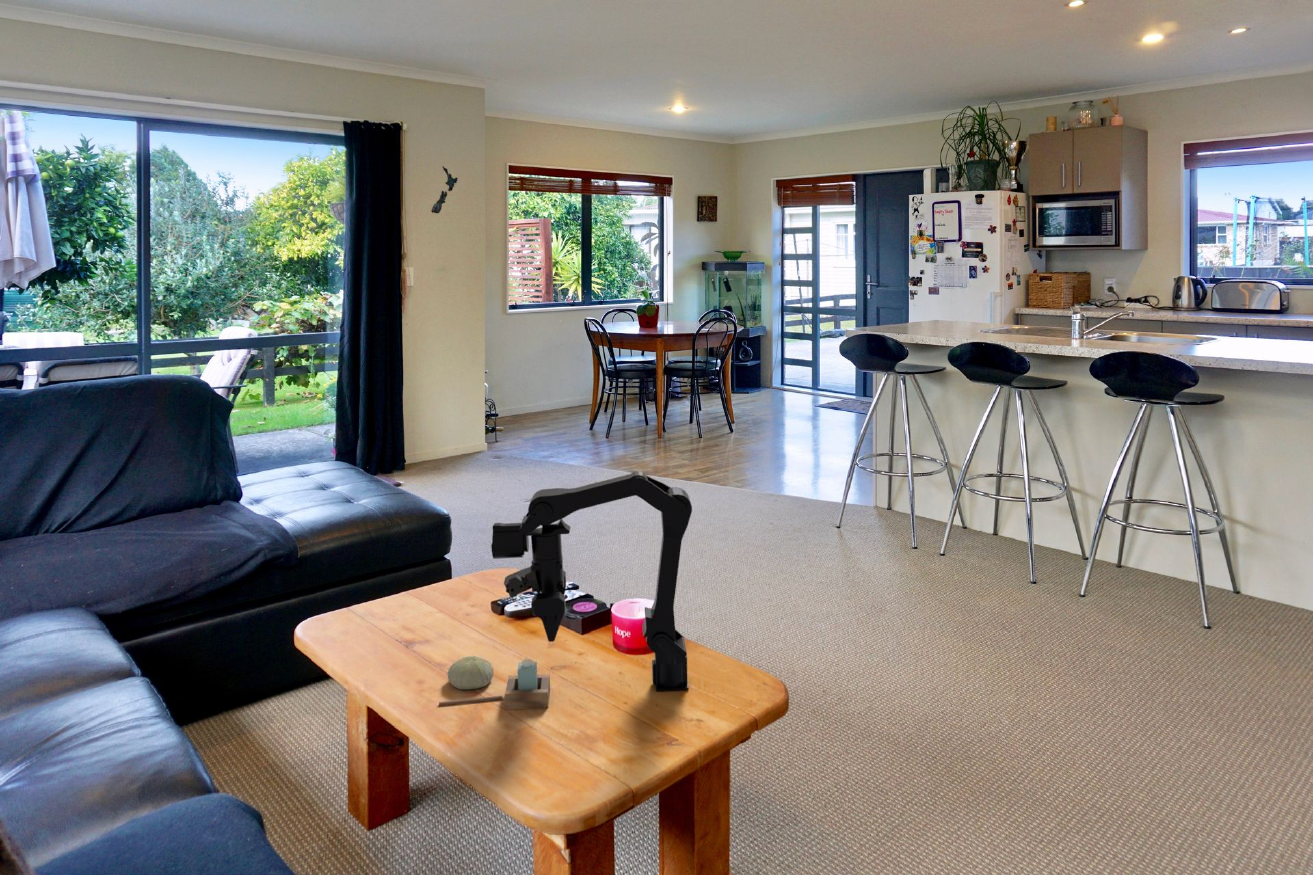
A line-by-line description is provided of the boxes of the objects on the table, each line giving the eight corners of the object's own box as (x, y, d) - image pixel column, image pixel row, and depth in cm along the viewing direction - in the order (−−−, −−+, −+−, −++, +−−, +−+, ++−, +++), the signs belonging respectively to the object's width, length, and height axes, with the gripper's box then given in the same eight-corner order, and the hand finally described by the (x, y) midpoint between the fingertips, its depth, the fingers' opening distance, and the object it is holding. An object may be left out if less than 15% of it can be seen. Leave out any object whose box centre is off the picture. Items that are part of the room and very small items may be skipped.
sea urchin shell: (449, 688, 183) (445, 649, 187) (449, 702, 189) (446, 665, 193) (496, 681, 185) (492, 643, 189) (495, 696, 191) (490, 659, 196)
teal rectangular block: (538, 695, 183) (536, 654, 182) (536, 703, 180) (535, 661, 178) (520, 695, 183) (518, 655, 181) (519, 703, 180) (517, 662, 178)
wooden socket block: (550, 689, 185) (549, 674, 185) (548, 707, 178) (547, 692, 177) (509, 690, 185) (508, 675, 184) (505, 709, 177) (504, 693, 177)
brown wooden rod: (502, 697, 182) (502, 695, 182) (502, 699, 182) (502, 696, 181) (439, 704, 180) (439, 701, 180) (439, 705, 179) (439, 703, 179)
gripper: (508, 544, 190) (513, 617, 192) (501, 573, 171) (507, 654, 174) (563, 541, 190) (568, 613, 193) (562, 569, 172) (567, 650, 175)
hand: (552, 632), depth 184 cm, fingers open, 9 cm apart
